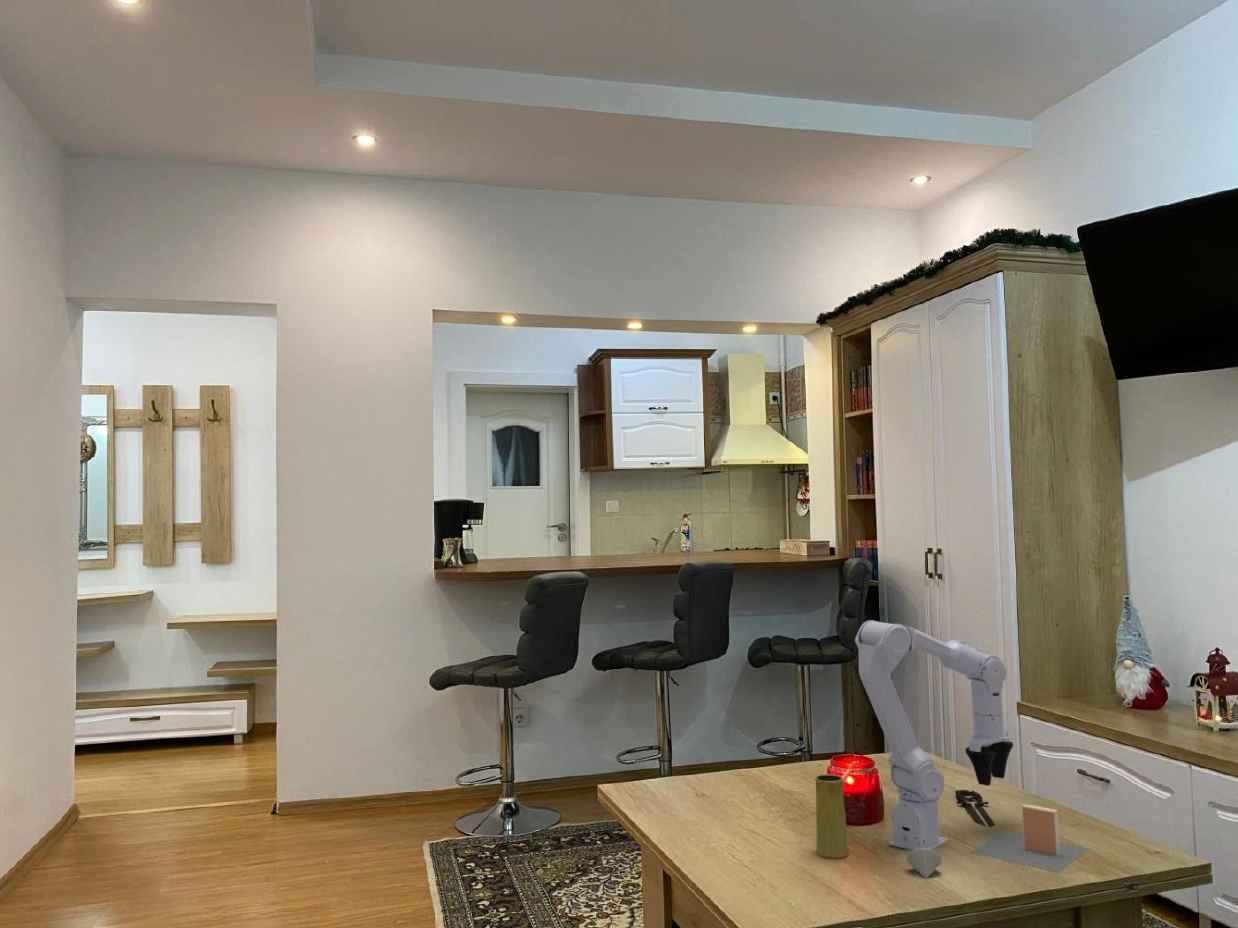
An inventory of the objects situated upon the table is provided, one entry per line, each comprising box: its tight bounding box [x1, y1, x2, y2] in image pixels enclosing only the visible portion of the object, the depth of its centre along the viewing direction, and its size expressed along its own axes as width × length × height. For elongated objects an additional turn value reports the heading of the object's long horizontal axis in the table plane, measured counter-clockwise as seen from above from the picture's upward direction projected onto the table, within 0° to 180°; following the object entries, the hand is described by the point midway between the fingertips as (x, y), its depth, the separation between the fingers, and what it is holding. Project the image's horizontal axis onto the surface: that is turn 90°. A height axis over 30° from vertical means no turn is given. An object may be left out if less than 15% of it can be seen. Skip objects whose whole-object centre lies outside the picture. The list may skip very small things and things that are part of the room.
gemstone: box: [906, 848, 943, 880], centre depth 164 cm, size 6×6×5 cm
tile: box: [1021, 804, 1061, 856], centre depth 173 cm, size 2×6×8 cm, turn 45°
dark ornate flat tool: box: [954, 789, 996, 829], centre depth 199 cm, size 26×7×2 cm, turn 165°
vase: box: [815, 773, 850, 859], centre depth 176 cm, size 6×6×14 cm
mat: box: [969, 830, 1089, 874], centre depth 173 cm, size 16×16×1 cm
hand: (991, 780), depth 187 cm, fingers open, 6 cm apart
